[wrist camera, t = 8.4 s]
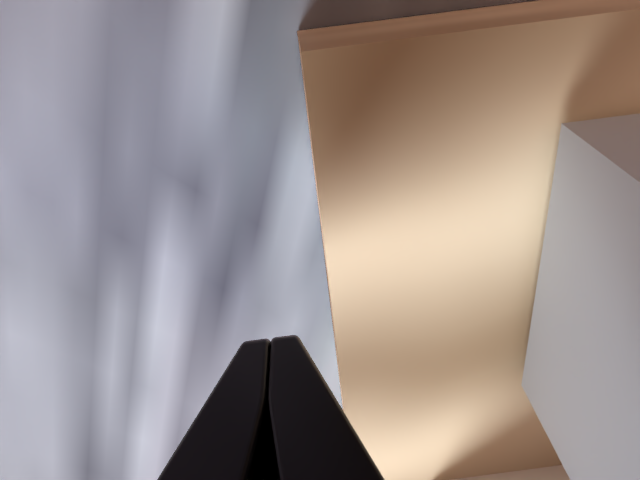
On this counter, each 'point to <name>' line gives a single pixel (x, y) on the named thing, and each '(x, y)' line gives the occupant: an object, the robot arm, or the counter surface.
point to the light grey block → (590, 303)
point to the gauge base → (451, 215)
